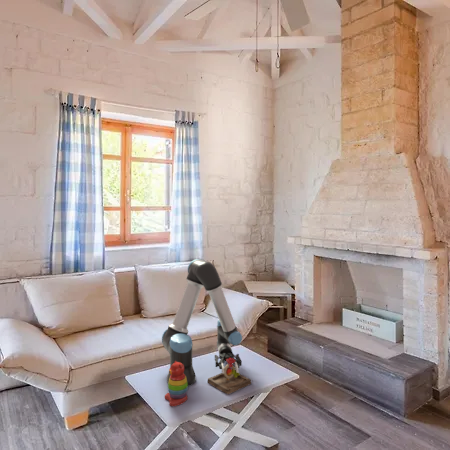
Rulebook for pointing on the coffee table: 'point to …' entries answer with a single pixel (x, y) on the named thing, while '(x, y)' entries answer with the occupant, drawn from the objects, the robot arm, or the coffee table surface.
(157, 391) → the coffee table surface
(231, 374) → the bird rattle
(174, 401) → the stacking bear
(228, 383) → the walnut plate
